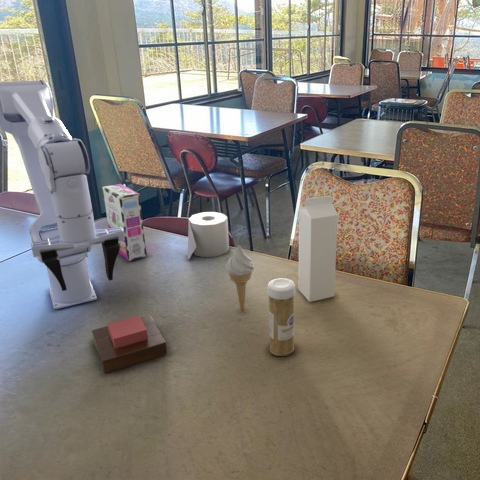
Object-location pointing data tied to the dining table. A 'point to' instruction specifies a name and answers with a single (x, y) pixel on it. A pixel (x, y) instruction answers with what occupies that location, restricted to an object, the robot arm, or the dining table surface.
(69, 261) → the robot arm
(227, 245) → the toilet tissue
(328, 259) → the milk
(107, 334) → the block
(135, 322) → the back pad
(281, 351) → the sprinkles bottle
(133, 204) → the candy bar box
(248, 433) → the dining table surface
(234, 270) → the ice cream cone
